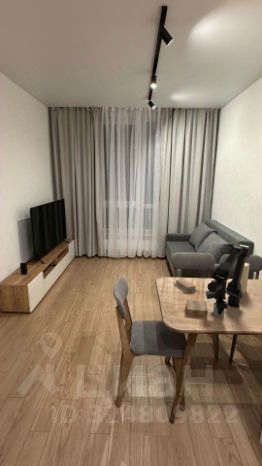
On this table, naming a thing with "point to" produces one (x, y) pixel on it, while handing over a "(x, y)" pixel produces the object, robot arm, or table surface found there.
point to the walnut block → (196, 308)
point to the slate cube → (217, 311)
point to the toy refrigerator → (244, 278)
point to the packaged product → (185, 285)
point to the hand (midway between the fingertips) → (218, 311)
